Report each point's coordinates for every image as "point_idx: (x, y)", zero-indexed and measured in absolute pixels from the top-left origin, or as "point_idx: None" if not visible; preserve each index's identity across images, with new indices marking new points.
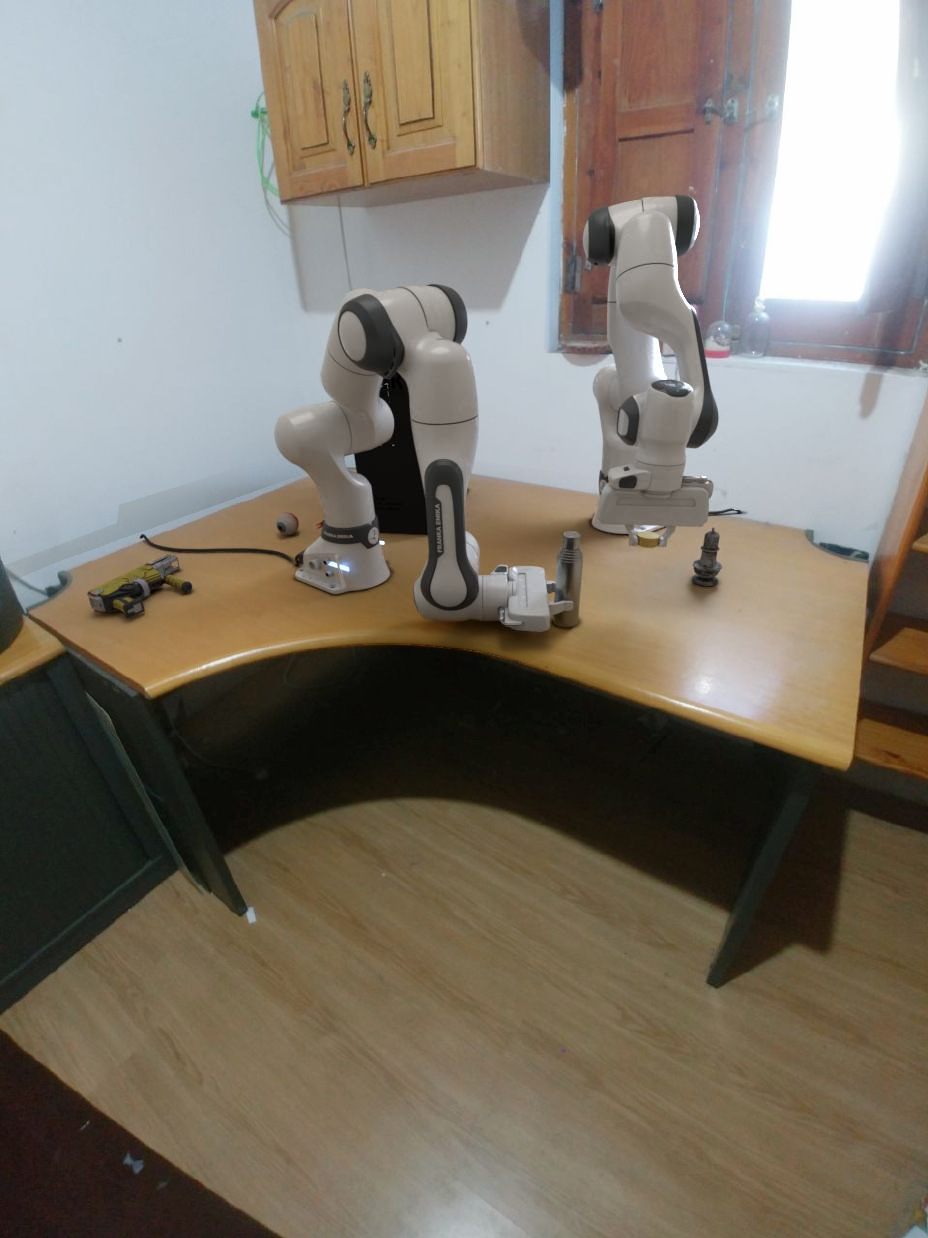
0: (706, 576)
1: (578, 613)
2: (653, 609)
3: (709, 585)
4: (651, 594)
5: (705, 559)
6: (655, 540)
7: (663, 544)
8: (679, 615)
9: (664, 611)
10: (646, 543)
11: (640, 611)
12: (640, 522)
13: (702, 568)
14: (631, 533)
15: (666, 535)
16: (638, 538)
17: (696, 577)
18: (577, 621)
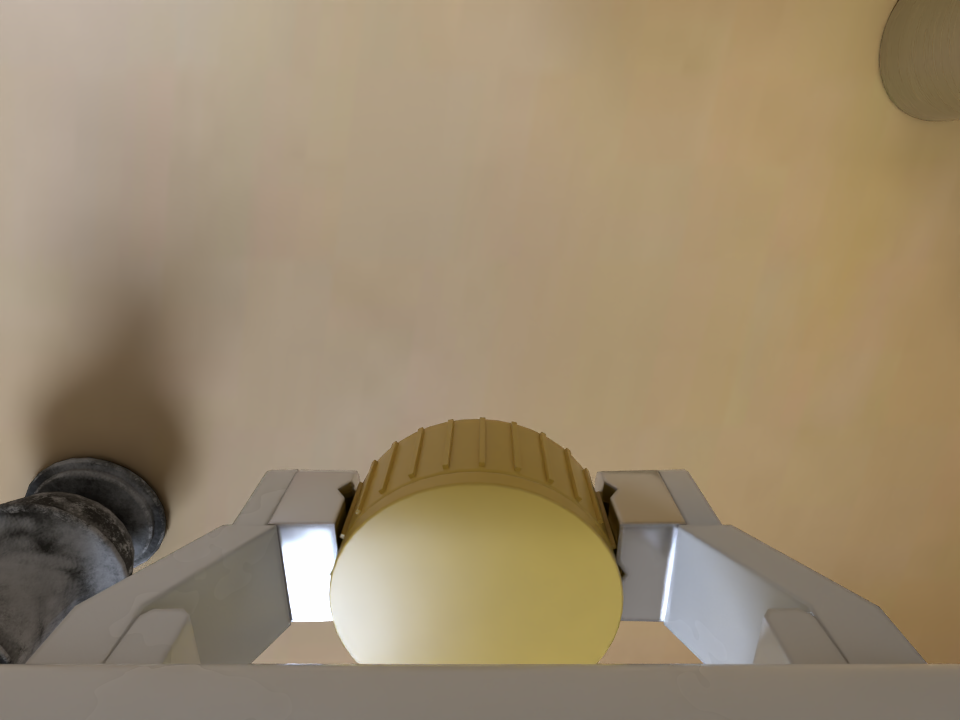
0: (65, 493)
1: (940, 1)
2: (413, 193)
3: (73, 458)
4: (399, 369)
5: (20, 588)
6: (399, 482)
7: (296, 480)
8: (269, 115)
9: (352, 167)
10: (516, 447)
11: (491, 169)
12: (768, 707)
13: (66, 530)
14: (757, 568)
15: (234, 568)
16: (621, 521)
17: (137, 528)
18: (905, 4)
